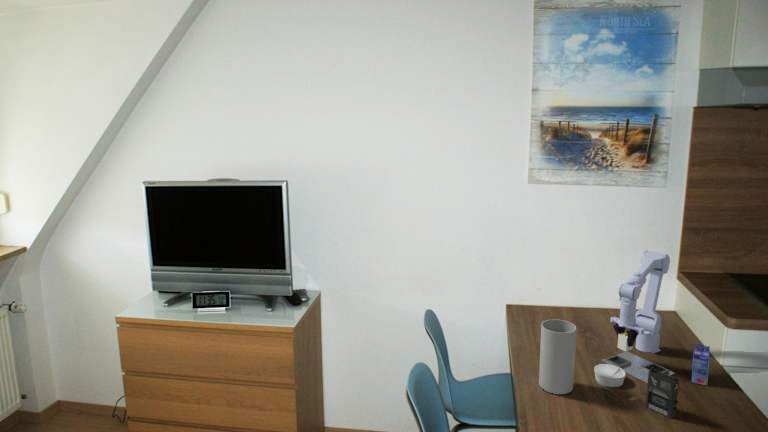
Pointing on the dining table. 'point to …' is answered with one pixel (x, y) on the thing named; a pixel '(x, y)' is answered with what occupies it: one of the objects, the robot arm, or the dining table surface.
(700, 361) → the ink cartridge box
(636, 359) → the switch plate
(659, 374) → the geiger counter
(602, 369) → the ramekin
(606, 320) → the dining table surface
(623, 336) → the plug
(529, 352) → the dining table surface
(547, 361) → the cylinder vase
